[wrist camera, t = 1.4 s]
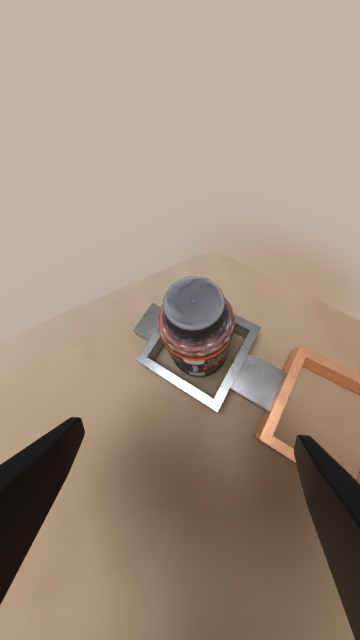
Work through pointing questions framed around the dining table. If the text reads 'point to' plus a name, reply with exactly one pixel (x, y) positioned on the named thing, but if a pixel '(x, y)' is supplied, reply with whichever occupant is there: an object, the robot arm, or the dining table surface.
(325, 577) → the dining table surface
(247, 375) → the socket rail
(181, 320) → the supplement bottle
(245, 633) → the dining table surface
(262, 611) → the dining table surface
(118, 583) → the dining table surface
